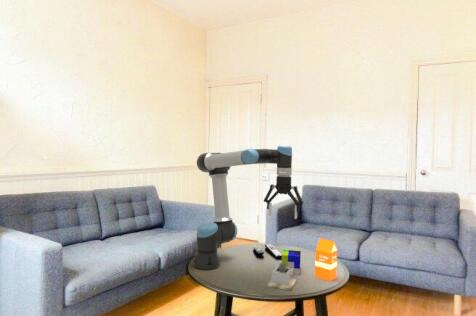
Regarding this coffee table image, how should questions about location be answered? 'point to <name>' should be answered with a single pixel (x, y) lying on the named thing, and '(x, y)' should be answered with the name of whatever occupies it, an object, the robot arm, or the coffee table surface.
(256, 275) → the coffee table surface
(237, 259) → the coffee table surface
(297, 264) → the puzzle toy
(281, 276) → the frame
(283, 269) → the shaft block
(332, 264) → the orange juice
